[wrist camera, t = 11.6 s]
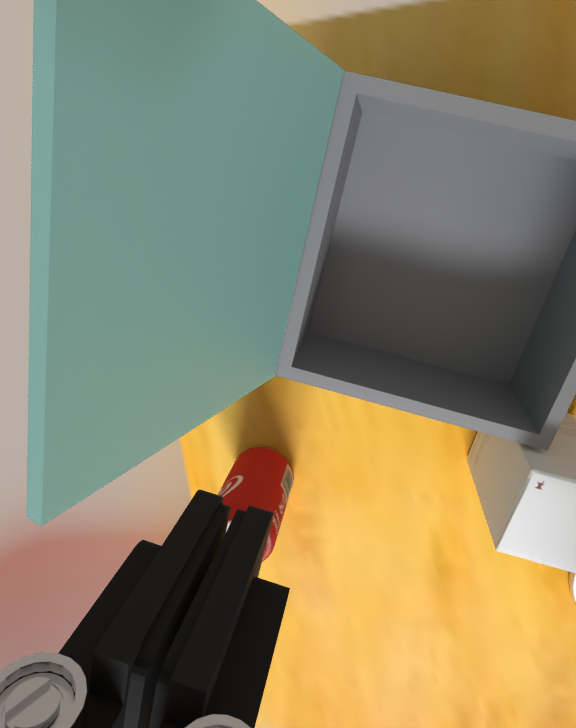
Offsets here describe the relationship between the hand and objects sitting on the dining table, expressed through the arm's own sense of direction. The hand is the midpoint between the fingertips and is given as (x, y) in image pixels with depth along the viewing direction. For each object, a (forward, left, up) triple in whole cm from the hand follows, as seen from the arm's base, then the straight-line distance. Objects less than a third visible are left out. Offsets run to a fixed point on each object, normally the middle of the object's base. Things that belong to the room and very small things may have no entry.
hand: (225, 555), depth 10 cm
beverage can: (+3, +22, -35) cm, 41 cm away
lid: (+5, -3, -15) cm, 16 cm away
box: (-7, -3, -35) cm, 36 cm away
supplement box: (-19, +11, -35) cm, 42 cm away
